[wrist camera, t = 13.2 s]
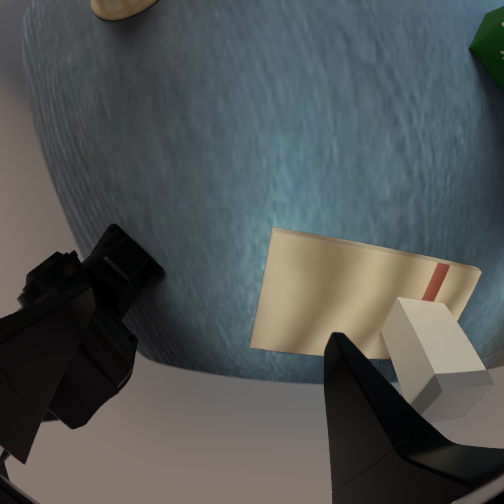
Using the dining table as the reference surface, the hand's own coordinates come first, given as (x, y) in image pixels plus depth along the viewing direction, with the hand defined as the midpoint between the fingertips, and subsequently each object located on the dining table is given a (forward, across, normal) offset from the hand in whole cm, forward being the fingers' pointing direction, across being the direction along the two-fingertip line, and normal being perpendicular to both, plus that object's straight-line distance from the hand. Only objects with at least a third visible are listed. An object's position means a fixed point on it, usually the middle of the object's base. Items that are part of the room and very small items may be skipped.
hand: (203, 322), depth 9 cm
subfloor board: (+13, -13, +7) cm, 20 cm away
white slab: (+12, -18, +7) cm, 22 cm away
